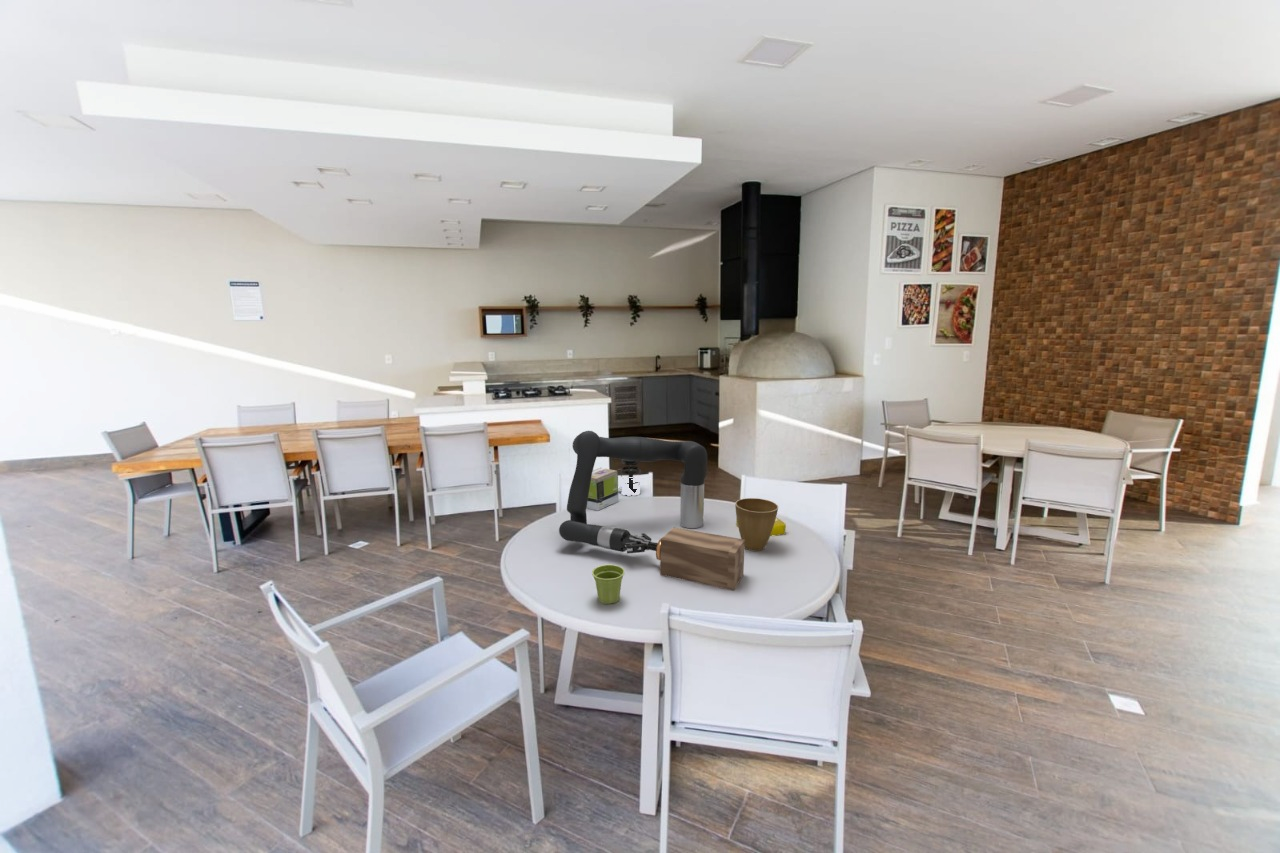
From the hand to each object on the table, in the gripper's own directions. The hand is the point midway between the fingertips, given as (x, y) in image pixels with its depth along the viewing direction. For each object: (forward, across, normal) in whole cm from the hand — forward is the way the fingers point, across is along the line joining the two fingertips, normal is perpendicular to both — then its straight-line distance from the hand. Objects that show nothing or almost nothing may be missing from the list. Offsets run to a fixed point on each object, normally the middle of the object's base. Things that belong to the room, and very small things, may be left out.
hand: (660, 547), depth 178 cm
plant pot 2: (+24, +29, +7) cm, 39 cm away
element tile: (+22, +47, +7) cm, 53 cm away
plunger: (+10, 0, +4) cm, 11 cm away
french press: (-44, +65, +7) cm, 78 cm away
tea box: (-49, +45, +7) cm, 67 cm away
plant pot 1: (-5, -26, +7) cm, 28 cm away
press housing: (+14, 0, +7) cm, 16 cm away
